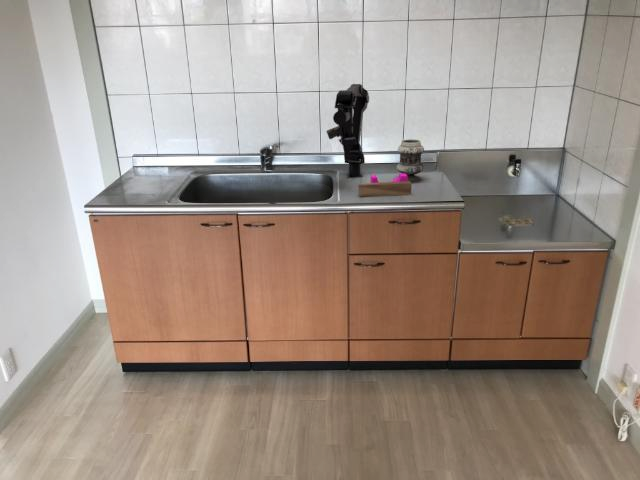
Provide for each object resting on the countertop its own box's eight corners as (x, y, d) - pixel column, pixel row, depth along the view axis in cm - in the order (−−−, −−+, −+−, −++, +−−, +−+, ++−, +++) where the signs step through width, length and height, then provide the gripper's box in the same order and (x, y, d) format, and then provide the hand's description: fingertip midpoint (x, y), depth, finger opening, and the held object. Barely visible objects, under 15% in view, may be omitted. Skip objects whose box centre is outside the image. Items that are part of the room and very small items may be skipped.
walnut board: (358, 194, 216) (358, 183, 214) (409, 192, 218) (409, 181, 216) (359, 197, 213) (359, 185, 211) (410, 194, 215) (411, 183, 213)
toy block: (403, 188, 223) (403, 171, 220) (406, 192, 218) (407, 175, 215) (369, 190, 222) (369, 173, 219) (372, 194, 217) (372, 177, 214)
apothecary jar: (412, 174, 242) (414, 136, 235) (428, 180, 232) (430, 141, 225) (391, 178, 238) (392, 139, 230) (405, 184, 228) (407, 144, 220)
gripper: (325, 117, 226) (325, 152, 233) (330, 125, 209) (330, 162, 215) (349, 116, 227) (349, 151, 233) (356, 124, 210) (356, 161, 216)
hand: (346, 156), depth 225 cm, fingers closed
